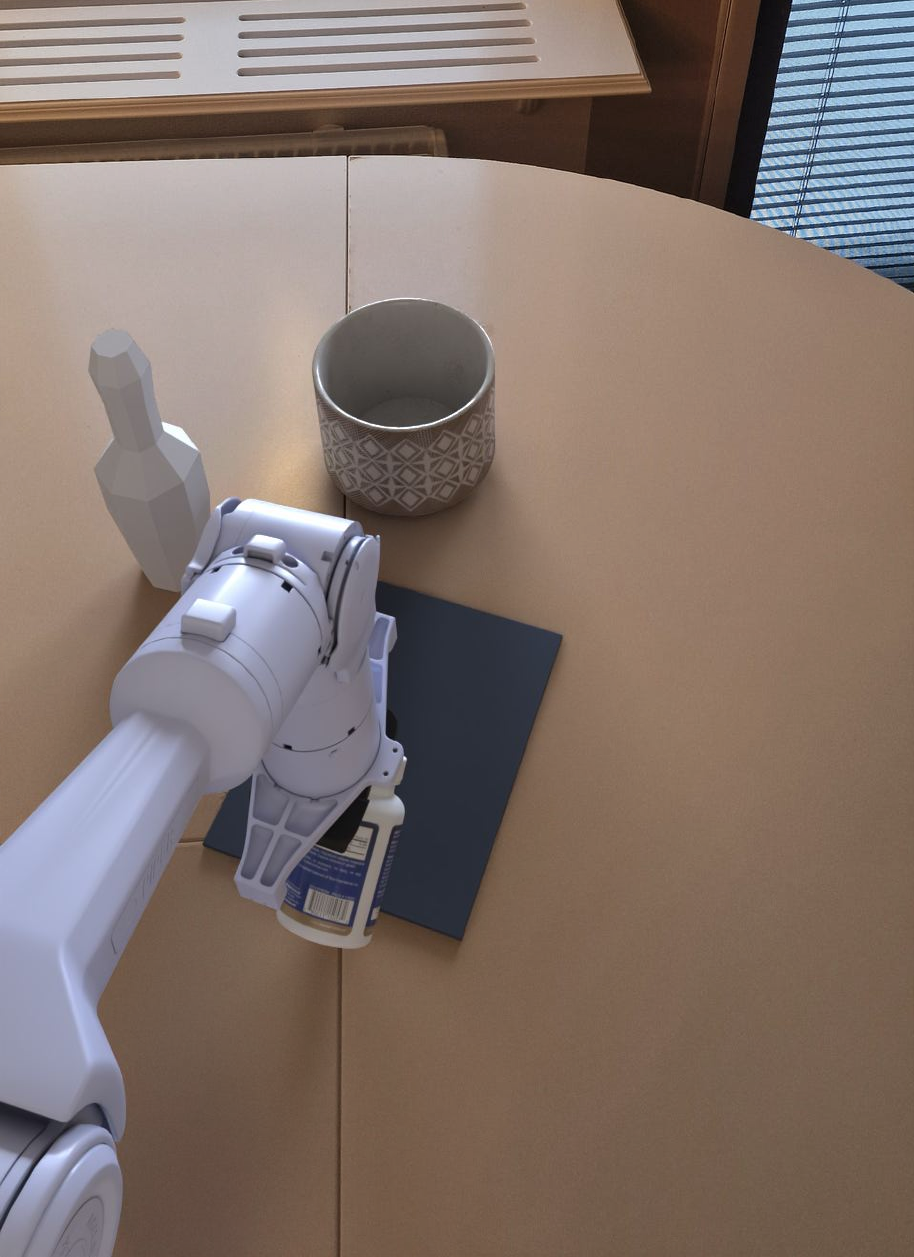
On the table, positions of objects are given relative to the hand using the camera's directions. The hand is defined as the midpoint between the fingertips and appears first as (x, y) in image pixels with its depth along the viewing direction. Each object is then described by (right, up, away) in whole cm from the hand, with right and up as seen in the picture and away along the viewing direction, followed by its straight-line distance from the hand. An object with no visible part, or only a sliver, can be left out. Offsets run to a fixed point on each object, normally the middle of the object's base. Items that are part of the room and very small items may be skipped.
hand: (337, 821), depth 68 cm
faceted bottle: (-13, +9, +22) cm, 27 cm away
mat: (+2, 0, +12) cm, 12 cm away
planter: (+3, +15, +28) cm, 32 cm away
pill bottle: (-1, -7, +2) cm, 7 cm away
